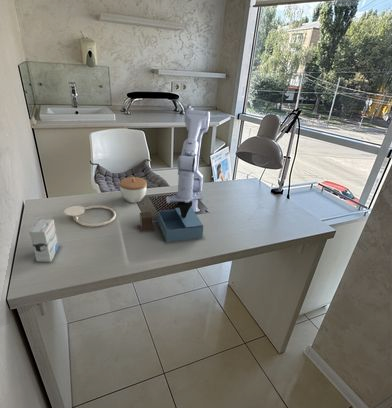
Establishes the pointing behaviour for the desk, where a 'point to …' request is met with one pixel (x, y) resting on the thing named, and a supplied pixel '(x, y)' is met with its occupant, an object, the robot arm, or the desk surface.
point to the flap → (190, 218)
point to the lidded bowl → (133, 189)
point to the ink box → (44, 240)
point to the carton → (176, 227)
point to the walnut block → (146, 221)
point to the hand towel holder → (78, 210)
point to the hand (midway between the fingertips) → (183, 216)
